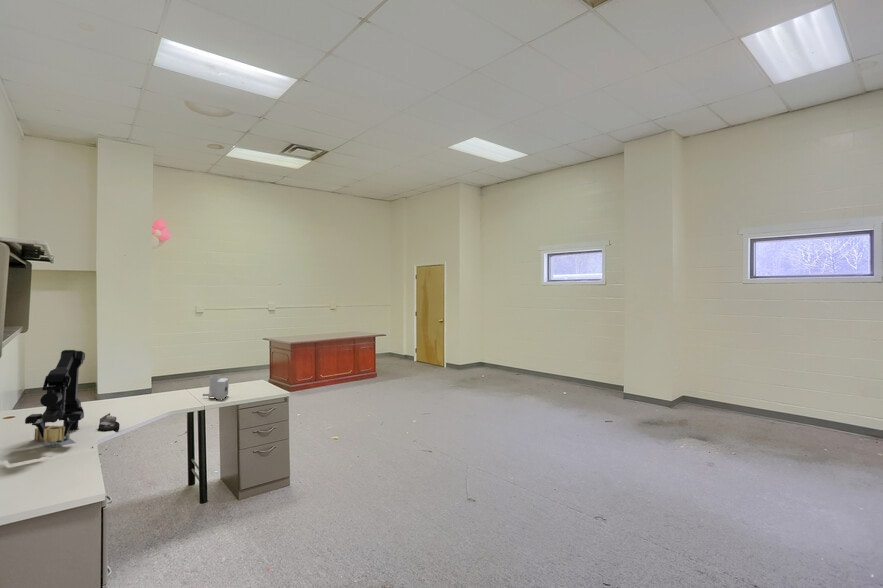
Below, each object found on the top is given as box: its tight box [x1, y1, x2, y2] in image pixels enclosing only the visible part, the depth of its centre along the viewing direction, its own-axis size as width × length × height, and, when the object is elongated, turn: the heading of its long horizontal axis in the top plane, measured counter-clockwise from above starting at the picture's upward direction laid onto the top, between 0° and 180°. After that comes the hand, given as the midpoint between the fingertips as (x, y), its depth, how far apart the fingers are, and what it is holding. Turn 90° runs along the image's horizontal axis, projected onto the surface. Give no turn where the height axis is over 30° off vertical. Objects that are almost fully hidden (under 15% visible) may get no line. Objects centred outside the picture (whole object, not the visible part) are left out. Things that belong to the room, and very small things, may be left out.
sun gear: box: [57, 432, 71, 442], centre depth 198 cm, size 6×6×2 cm
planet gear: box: [43, 425, 65, 442], centre depth 191 cm, size 7×7×5 cm
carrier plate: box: [37, 437, 77, 449], centre depth 196 cm, size 18×10×5 cm, turn 55°
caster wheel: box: [98, 412, 120, 433], centre depth 218 cm, size 7×11×10 cm
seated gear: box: [34, 425, 55, 442], centre depth 198 cm, size 7×7×5 cm
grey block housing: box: [202, 374, 230, 400], centre depth 294 cm, size 12×14×15 cm
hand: (54, 437), depth 191 cm, fingers closed on planet gear, 7 cm apart
